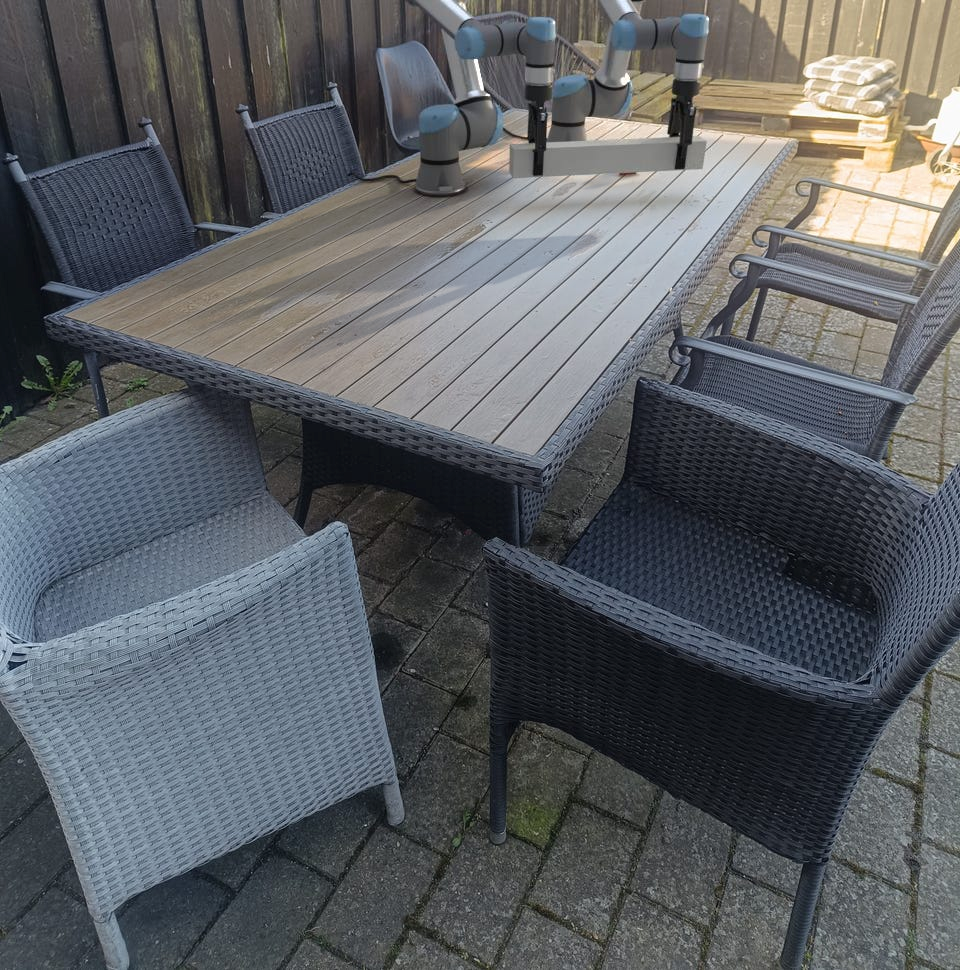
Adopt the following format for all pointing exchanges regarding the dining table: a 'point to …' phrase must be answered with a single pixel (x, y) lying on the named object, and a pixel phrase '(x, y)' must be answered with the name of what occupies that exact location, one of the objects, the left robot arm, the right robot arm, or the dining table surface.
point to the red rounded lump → (627, 173)
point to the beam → (606, 156)
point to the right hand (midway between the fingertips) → (675, 165)
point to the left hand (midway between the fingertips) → (535, 171)
